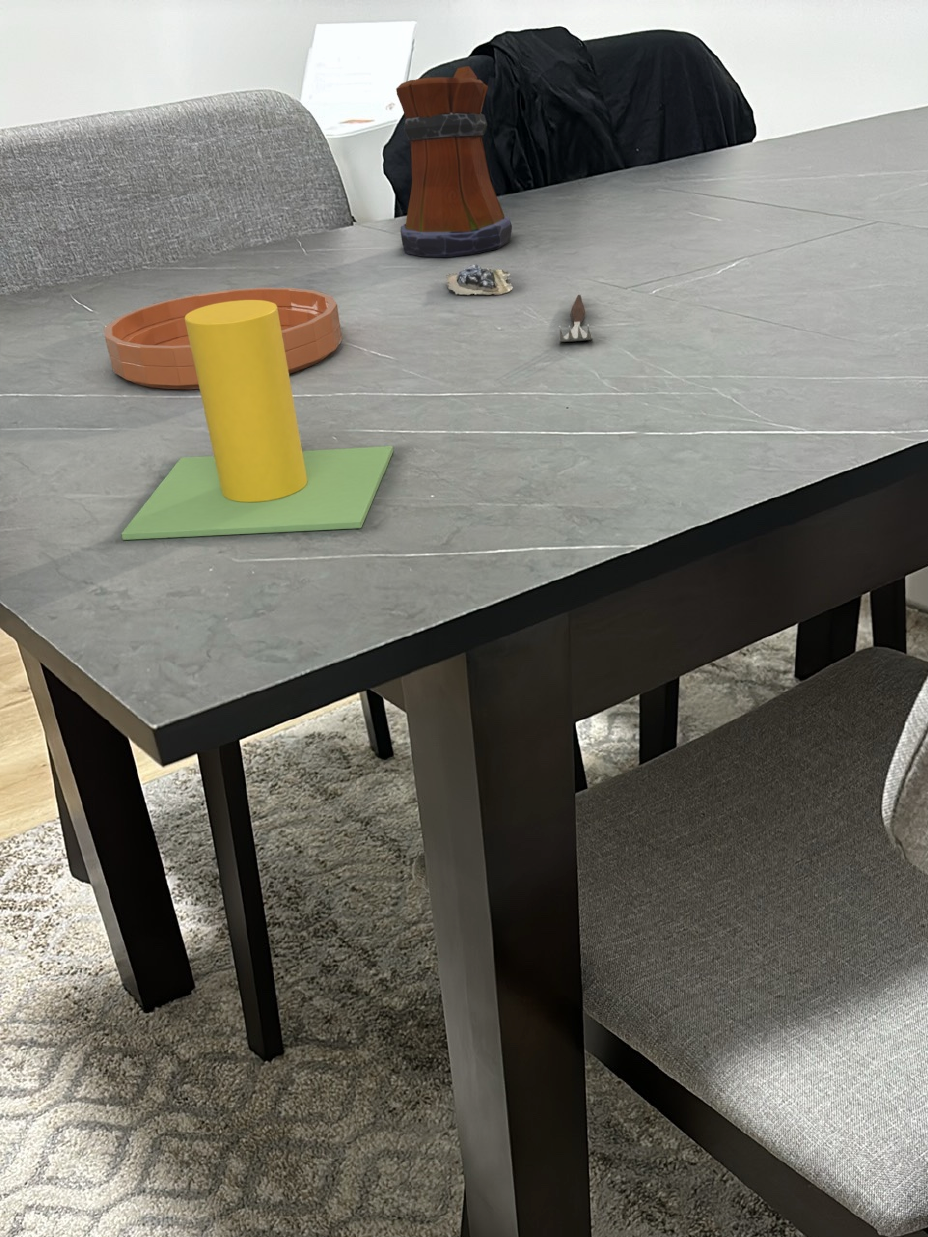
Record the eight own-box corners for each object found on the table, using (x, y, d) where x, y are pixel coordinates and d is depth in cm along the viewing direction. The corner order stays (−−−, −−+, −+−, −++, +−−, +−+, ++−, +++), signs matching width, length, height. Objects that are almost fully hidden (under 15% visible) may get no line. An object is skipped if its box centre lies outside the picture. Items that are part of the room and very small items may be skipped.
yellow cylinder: (212, 504, 80) (173, 325, 73) (233, 474, 84) (197, 302, 78) (298, 500, 79) (266, 319, 73) (314, 469, 83) (285, 296, 77)
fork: (595, 300, 114) (594, 275, 112) (592, 352, 101) (591, 324, 100) (564, 302, 114) (563, 277, 113) (557, 354, 101) (556, 326, 100)
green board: (122, 540, 77) (120, 533, 77) (182, 463, 87) (180, 457, 87) (361, 528, 76) (360, 521, 76) (393, 451, 86) (392, 445, 86)
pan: (84, 398, 101) (72, 354, 99) (151, 335, 116) (142, 295, 114) (319, 384, 100) (312, 338, 98) (358, 321, 114) (352, 281, 112)
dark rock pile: (496, 272, 125) (494, 250, 124) (537, 287, 119) (536, 263, 118) (431, 286, 123) (428, 263, 121) (470, 301, 117) (468, 277, 116)
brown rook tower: (427, 224, 147) (410, 62, 137) (531, 218, 145) (520, 53, 135) (389, 261, 133) (367, 83, 123) (503, 255, 131) (489, 74, 121)
